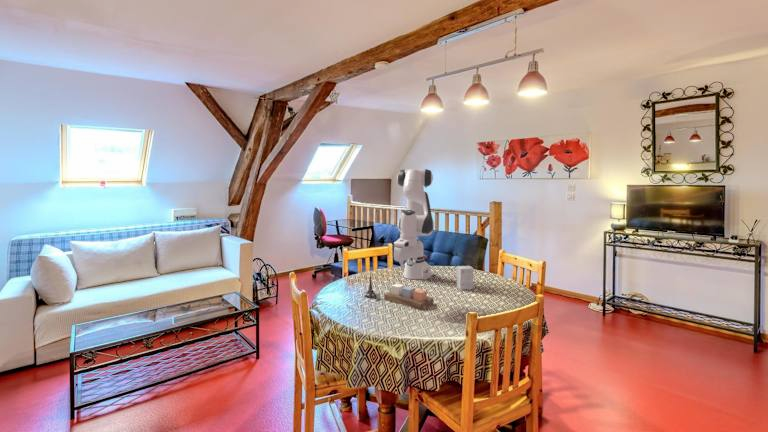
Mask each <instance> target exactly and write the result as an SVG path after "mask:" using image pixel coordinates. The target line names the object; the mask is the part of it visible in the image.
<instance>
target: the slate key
mask: <svg viewBox="0 0 768 432" xmlns="http://www.w3.org/2000/svg"><path fill="white" fill-rule="evenodd" d="M415 290H416V288H415V287H413V286H409V285H407V286H404V288H402V297H405V298H408V299H411V298H413V294H414V291H415Z"/></svg>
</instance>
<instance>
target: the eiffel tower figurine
mask: <svg viewBox="0 0 768 432" xmlns="http://www.w3.org/2000/svg"><path fill="white" fill-rule="evenodd" d="M363 294H365V295H364V298H366V299H369V300H371V299H375V298H376V299H375V302H380V301H381V293H376V292H375V291H374V290H373V285H372V275H370V276H369V286H368V290H367V291H365V292H363Z"/></svg>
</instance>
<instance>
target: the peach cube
mask: <svg viewBox="0 0 768 432" xmlns="http://www.w3.org/2000/svg"><path fill="white" fill-rule="evenodd" d="M427 295H428V291H427V290H425V289H420V288H417V289H415V291H414V294H413V300H416V301H420V302H423V301H425V300H427V297H428V296H427Z"/></svg>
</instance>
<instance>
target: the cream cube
mask: <svg viewBox="0 0 768 432" xmlns="http://www.w3.org/2000/svg"><path fill="white" fill-rule="evenodd" d="M404 287H405V285H404V284H400V283H395V284H391V285H390V289H391V291H390V292H391V294H394V295H397V296H399V295H402V288H404Z"/></svg>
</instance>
